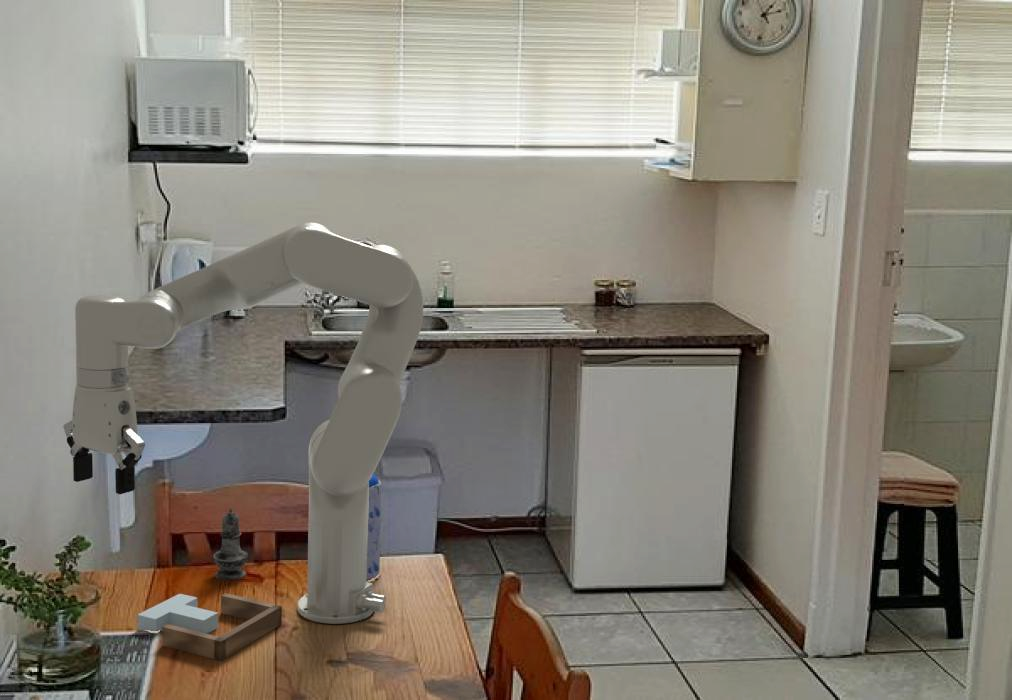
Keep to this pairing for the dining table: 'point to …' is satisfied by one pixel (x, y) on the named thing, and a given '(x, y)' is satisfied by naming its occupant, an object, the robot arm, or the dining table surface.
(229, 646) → the corral
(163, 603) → the t block
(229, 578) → the grey stone statue
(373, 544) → the aerosol can
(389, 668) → the dining table surface
